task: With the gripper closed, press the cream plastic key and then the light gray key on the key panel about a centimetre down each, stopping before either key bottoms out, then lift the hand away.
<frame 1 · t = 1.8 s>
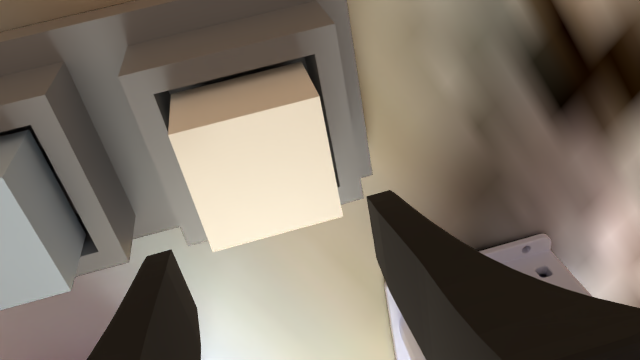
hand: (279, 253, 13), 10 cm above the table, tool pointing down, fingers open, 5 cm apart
key panel: (135, 121, 22), on the table
cream key: (257, 155, 18), point 5 cm above the table, slide at 0.0 cm
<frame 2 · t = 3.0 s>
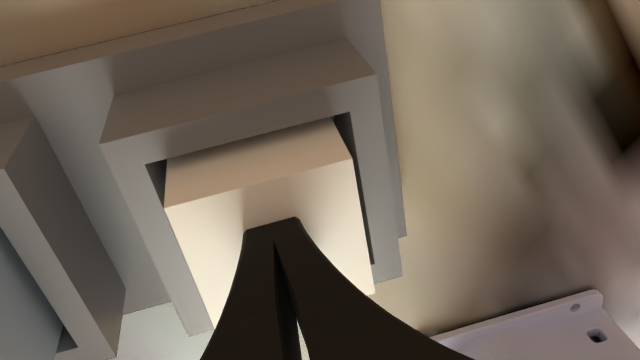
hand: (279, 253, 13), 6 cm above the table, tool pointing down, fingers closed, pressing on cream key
key panel: (125, 177, 18), on the table
cream key: (272, 220, 15), point 5 cm above the table, slide at 0.8 cm, touching gripper
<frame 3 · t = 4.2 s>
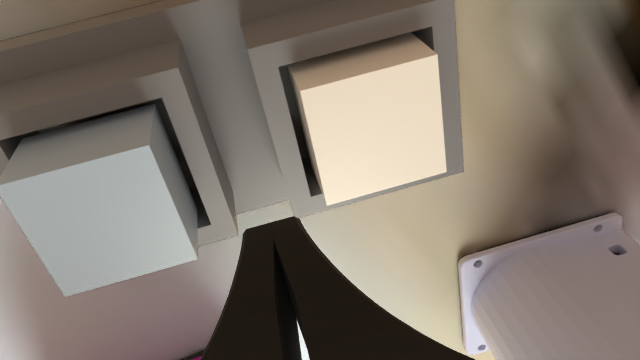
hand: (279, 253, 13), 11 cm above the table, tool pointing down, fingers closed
key panel: (233, 100, 22), on the table
cream key: (366, 115, 19), point 4 cm above the table, slide at 0.9 cm
light gray key: (110, 199, 18), point 5 cm above the table, slide at 0.0 cm
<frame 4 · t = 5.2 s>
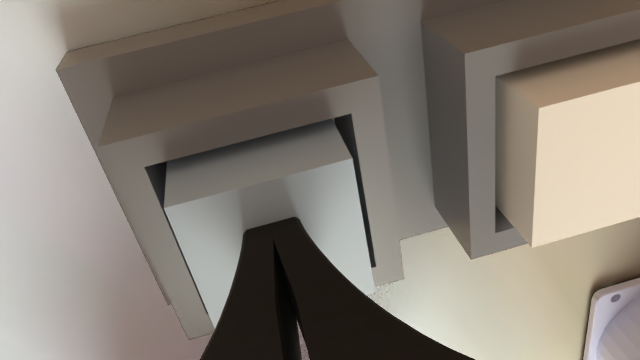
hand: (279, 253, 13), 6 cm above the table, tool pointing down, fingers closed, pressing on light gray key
key panel: (382, 112, 19), on the table
cream key: (579, 136, 15), point 4 cm above the table, slide at 0.9 cm
light gray key: (272, 220, 15), point 4 cm above the table, slide at 0.9 cm, touching gripper
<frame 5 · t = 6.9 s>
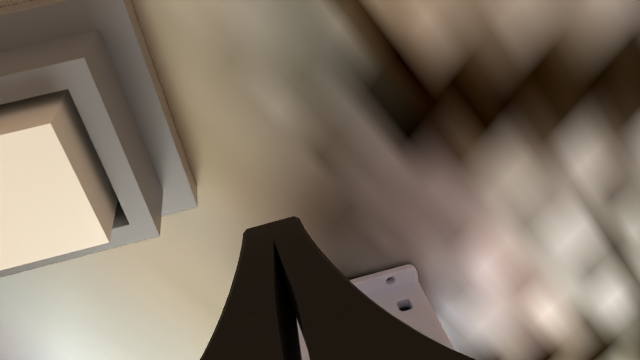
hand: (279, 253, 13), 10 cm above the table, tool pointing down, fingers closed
cream key: (21, 180, 17), point 4 cm above the table, slide at 0.9 cm
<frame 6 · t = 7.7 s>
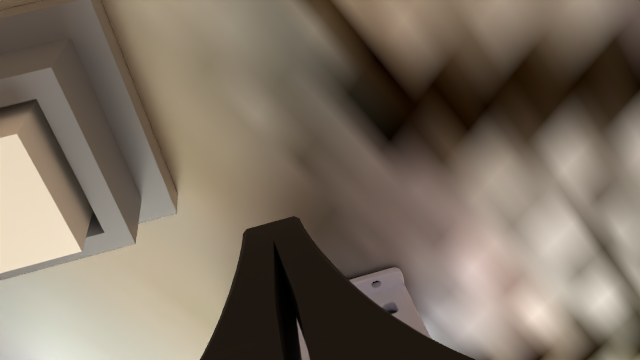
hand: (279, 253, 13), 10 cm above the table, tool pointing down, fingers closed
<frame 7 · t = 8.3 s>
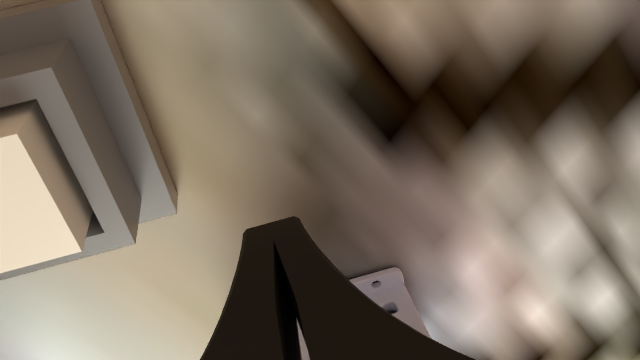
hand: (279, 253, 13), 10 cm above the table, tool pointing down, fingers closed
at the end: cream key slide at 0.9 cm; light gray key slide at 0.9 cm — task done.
